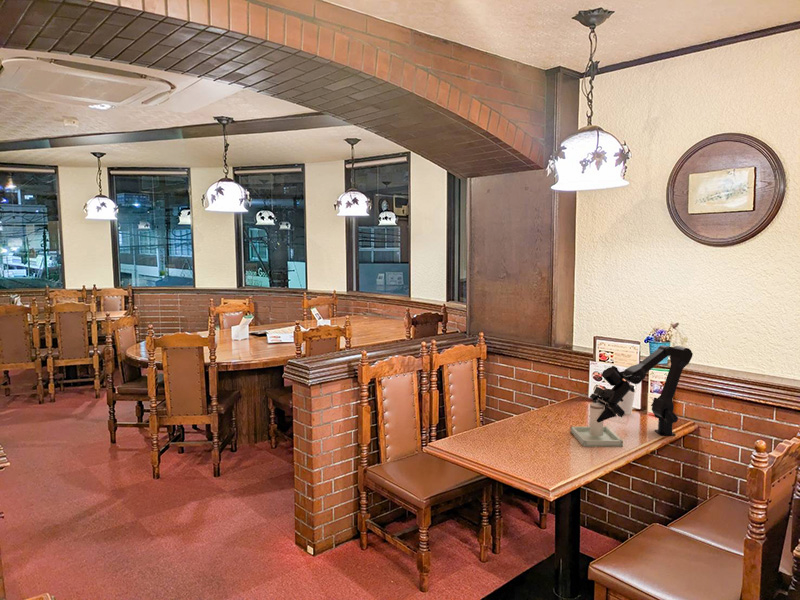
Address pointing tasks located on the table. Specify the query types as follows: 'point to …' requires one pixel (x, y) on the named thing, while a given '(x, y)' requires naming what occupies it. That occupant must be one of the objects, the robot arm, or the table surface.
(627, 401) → the foam cup
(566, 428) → the table surface
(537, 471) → the table surface
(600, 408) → the tumbler
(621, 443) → the tray
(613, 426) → the table surface
